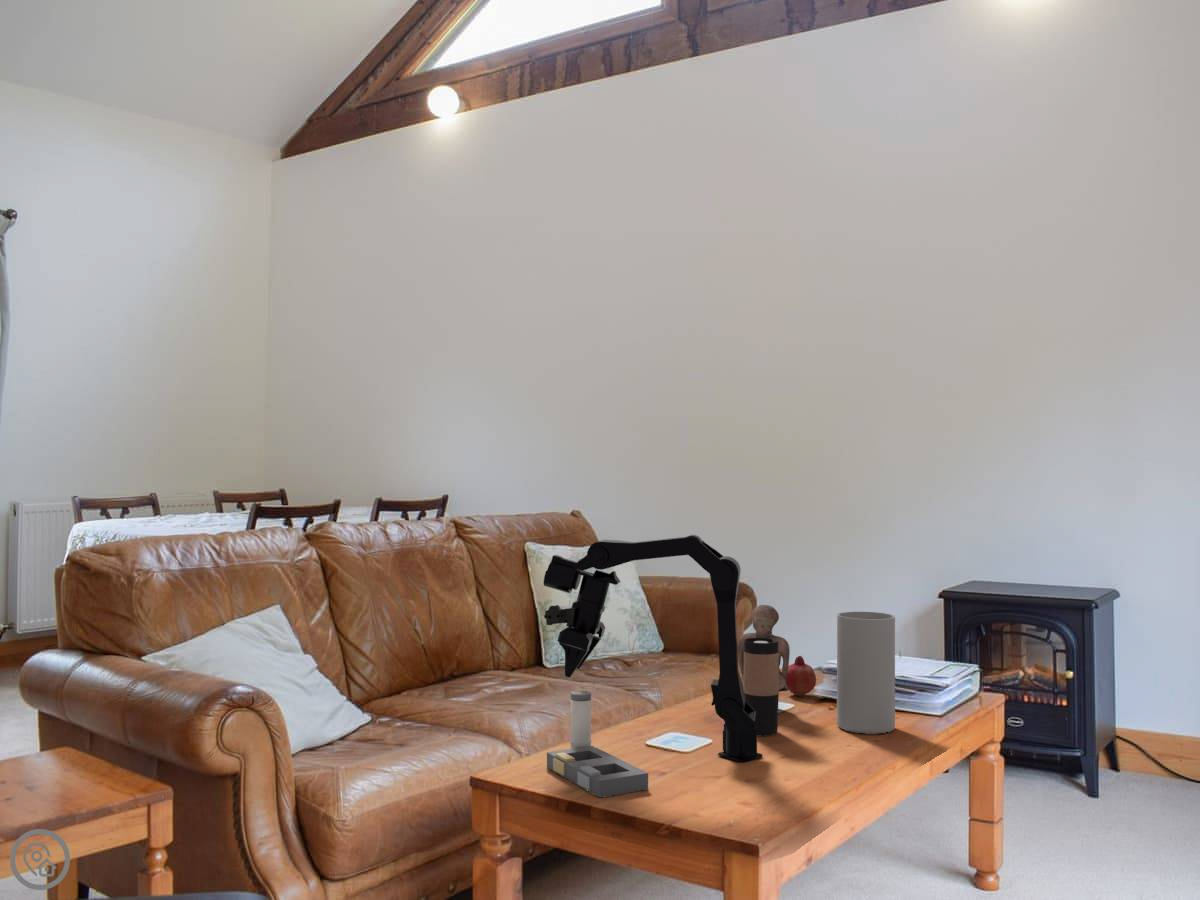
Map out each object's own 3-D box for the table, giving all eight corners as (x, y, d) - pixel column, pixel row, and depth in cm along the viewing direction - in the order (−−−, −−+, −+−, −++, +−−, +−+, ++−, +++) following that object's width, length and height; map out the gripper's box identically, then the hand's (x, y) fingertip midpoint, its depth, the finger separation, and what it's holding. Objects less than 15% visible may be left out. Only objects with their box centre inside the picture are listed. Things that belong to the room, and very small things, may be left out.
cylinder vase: (874, 719, 245) (874, 610, 246) (906, 732, 234) (906, 618, 234) (826, 723, 241) (826, 612, 242) (856, 737, 230) (856, 620, 230)
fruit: (819, 699, 266) (819, 659, 267) (786, 699, 266) (786, 659, 266) (812, 692, 275) (812, 653, 275) (780, 692, 274) (780, 653, 274)
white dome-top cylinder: (595, 755, 214) (595, 693, 214) (578, 759, 212) (579, 696, 212) (582, 751, 217) (582, 689, 217) (566, 754, 215) (566, 692, 215)
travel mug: (739, 734, 232) (739, 641, 232) (748, 726, 239) (748, 636, 239) (774, 737, 229) (774, 644, 229) (782, 729, 236) (782, 638, 236)
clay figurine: (730, 711, 253) (730, 605, 253) (743, 702, 262) (743, 600, 262) (784, 717, 247) (784, 609, 248) (795, 708, 256) (795, 604, 257)
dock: (648, 789, 192) (648, 770, 192) (597, 798, 187) (597, 778, 187) (592, 761, 210) (592, 743, 210) (545, 768, 205) (545, 749, 205)
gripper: (564, 583, 231) (546, 653, 231) (543, 594, 212) (524, 669, 213) (613, 598, 228) (595, 668, 229) (596, 610, 210) (577, 686, 211)
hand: (572, 672), depth 220 cm, fingers open, 9 cm apart
